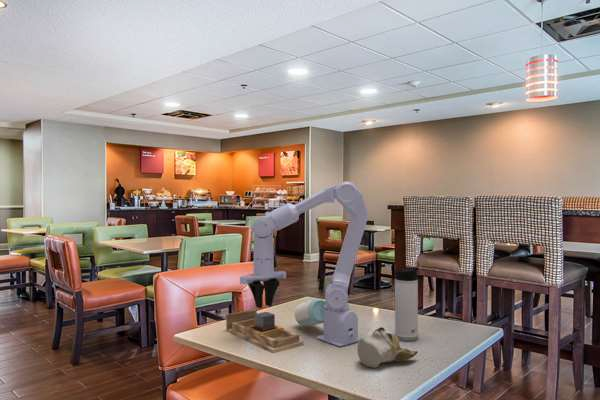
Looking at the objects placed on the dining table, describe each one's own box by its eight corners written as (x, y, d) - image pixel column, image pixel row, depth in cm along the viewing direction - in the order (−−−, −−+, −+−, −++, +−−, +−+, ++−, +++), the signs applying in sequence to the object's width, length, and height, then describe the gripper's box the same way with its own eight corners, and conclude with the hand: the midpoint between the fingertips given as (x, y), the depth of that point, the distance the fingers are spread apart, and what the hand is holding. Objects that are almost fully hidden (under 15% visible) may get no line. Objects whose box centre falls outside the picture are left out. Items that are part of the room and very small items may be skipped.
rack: (303, 344, 117) (303, 326, 117) (273, 353, 110) (273, 333, 110) (254, 324, 135) (254, 308, 135) (226, 331, 129) (226, 314, 129)
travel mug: (419, 342, 118) (419, 269, 118) (395, 341, 119) (395, 268, 119) (418, 335, 124) (418, 266, 124) (394, 334, 126) (394, 265, 126)
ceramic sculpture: (345, 325, 104) (387, 318, 113) (344, 361, 104) (385, 352, 113) (378, 337, 96) (421, 328, 105) (377, 376, 96) (419, 364, 105)
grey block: (274, 335, 122) (274, 314, 122) (263, 338, 119) (262, 316, 119) (266, 332, 125) (266, 311, 125) (254, 335, 122) (254, 314, 122)
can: (304, 298, 136) (321, 292, 126) (318, 316, 136) (336, 311, 126) (289, 313, 133) (305, 308, 122) (303, 331, 132) (321, 328, 122)
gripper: (276, 255, 130) (276, 300, 130) (234, 259, 121) (234, 307, 121) (290, 257, 125) (290, 304, 125) (247, 262, 116) (247, 313, 116)
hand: (263, 306), depth 123 cm, fingers open, 3 cm apart
